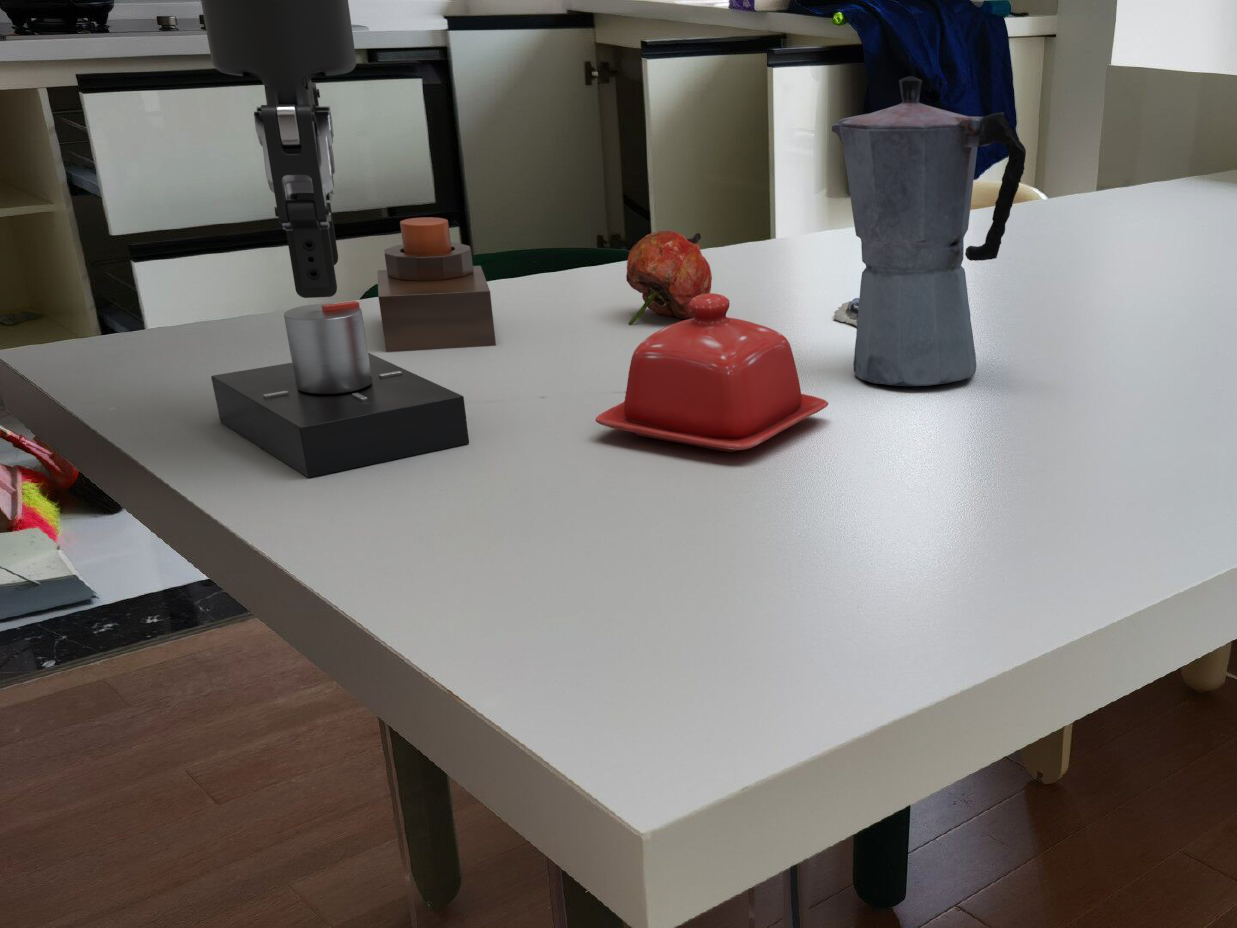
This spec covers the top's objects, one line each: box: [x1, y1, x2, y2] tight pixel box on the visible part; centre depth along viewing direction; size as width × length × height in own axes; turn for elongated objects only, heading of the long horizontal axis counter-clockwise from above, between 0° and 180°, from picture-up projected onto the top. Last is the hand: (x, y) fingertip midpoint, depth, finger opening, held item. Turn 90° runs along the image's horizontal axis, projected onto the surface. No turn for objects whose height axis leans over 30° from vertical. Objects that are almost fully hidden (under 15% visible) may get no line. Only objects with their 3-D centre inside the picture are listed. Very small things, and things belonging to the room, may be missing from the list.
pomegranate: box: [625, 230, 713, 326], centre depth 114 cm, size 7×7×10 cm
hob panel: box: [210, 352, 470, 479], centre depth 86 cm, size 14×10×3 cm
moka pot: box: [831, 75, 1027, 387], centre depth 97 cm, size 10×15×20 cm, turn 59°
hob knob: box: [283, 300, 372, 394], centre depth 85 cm, size 4×4×5 cm
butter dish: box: [595, 292, 829, 453], centre depth 87 cm, size 12×12×8 cm
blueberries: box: [832, 297, 860, 327], centre depth 117 cm, size 7×8×2 cm
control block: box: [377, 242, 497, 353], centre depth 109 cm, size 11×8×6 cm
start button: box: [399, 216, 452, 255], centre depth 109 cm, size 4×4×2 cm
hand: (319, 280), depth 83 cm, fingers open, 8 cm apart
